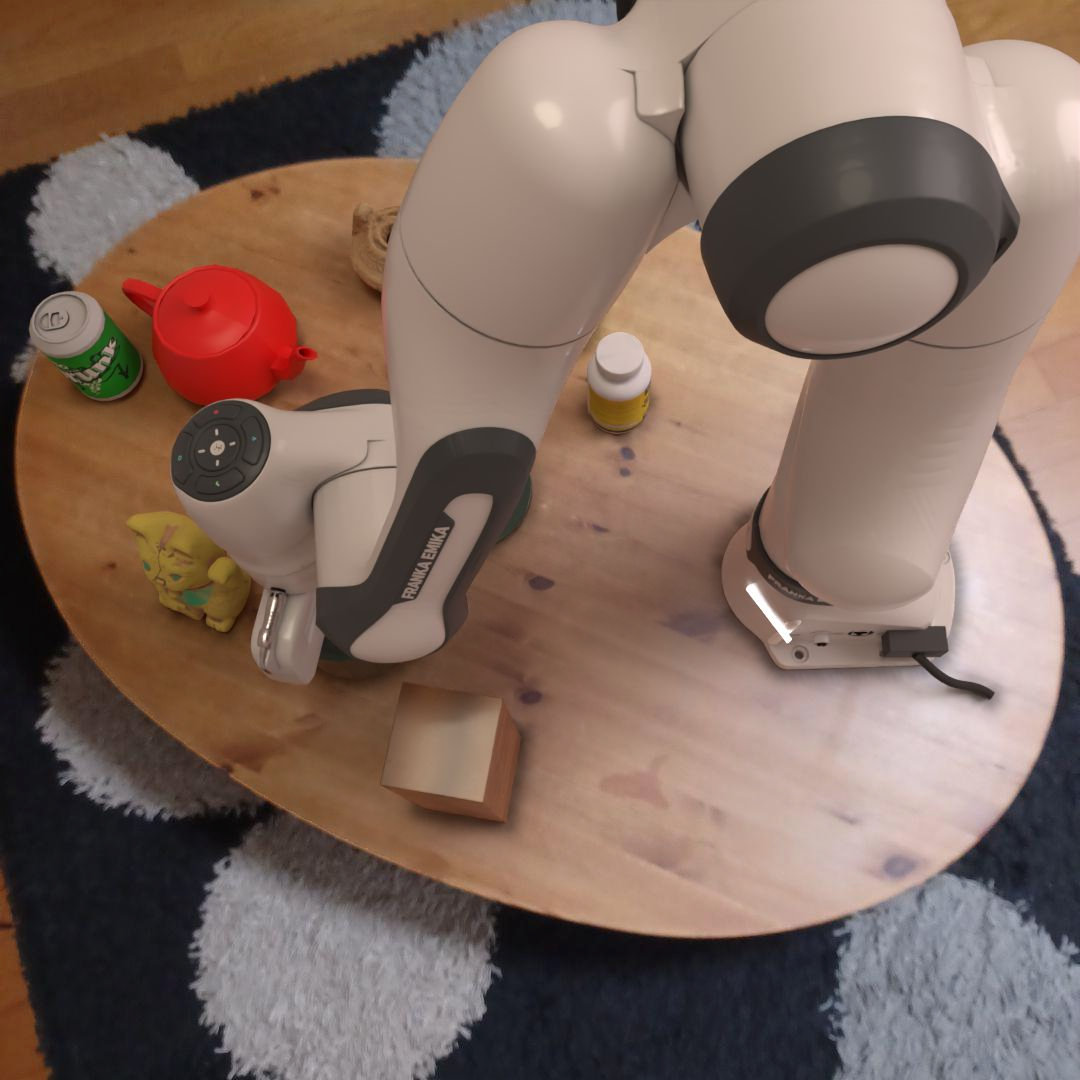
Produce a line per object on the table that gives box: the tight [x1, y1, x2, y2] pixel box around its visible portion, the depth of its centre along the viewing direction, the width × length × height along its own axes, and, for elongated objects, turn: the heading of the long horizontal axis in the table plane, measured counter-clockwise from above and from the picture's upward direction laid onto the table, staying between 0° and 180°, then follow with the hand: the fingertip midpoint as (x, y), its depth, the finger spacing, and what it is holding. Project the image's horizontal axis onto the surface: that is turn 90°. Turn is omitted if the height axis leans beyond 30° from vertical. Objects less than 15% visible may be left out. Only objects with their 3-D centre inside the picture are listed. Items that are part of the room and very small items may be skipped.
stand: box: [379, 681, 522, 823], centre depth 86 cm, size 8×8×20 cm
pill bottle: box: [586, 331, 653, 435], centre depth 102 cm, size 6×6×12 cm
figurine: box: [124, 510, 252, 633], centre depth 96 cm, size 11×9×15 cm
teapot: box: [121, 263, 319, 407], centre depth 106 cm, size 25×16×12 cm, turn 64°
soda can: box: [28, 290, 144, 402], centre depth 107 cm, size 8×8×12 cm
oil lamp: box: [349, 201, 401, 293], centre depth 111 cm, size 11×15×8 cm
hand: (335, 586), depth 91 cm, fingers closed on block, 4 cm apart
